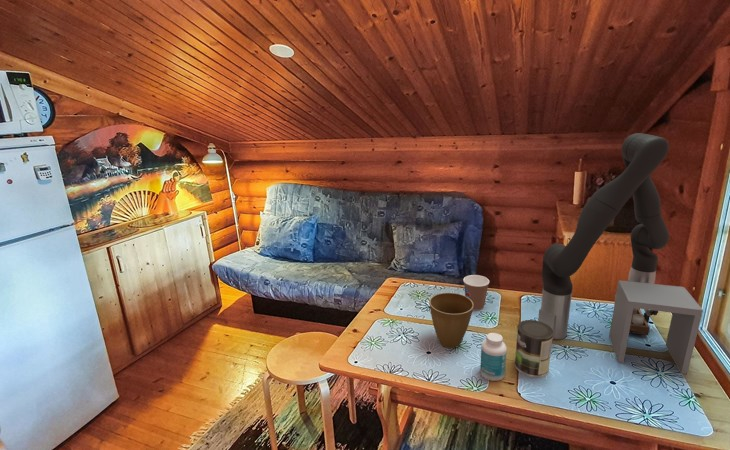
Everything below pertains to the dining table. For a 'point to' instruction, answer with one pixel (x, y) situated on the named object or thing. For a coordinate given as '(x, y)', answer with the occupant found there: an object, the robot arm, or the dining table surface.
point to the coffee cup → (476, 290)
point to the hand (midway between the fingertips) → (633, 321)
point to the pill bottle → (493, 357)
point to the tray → (639, 327)
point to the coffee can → (533, 348)
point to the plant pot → (450, 317)
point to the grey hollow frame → (659, 300)
